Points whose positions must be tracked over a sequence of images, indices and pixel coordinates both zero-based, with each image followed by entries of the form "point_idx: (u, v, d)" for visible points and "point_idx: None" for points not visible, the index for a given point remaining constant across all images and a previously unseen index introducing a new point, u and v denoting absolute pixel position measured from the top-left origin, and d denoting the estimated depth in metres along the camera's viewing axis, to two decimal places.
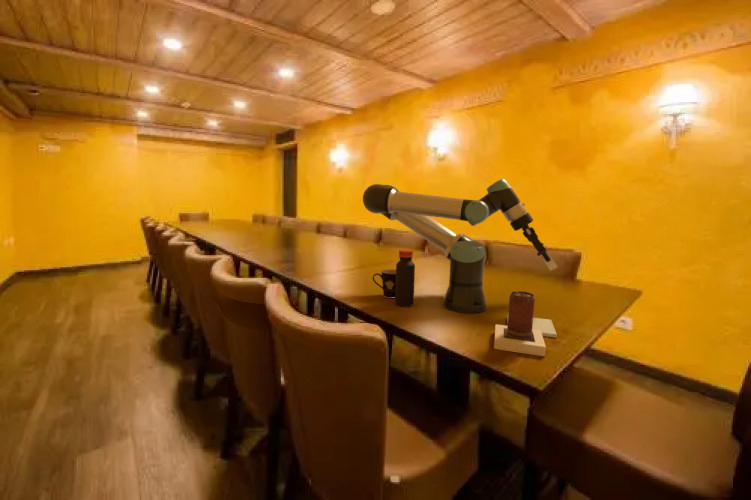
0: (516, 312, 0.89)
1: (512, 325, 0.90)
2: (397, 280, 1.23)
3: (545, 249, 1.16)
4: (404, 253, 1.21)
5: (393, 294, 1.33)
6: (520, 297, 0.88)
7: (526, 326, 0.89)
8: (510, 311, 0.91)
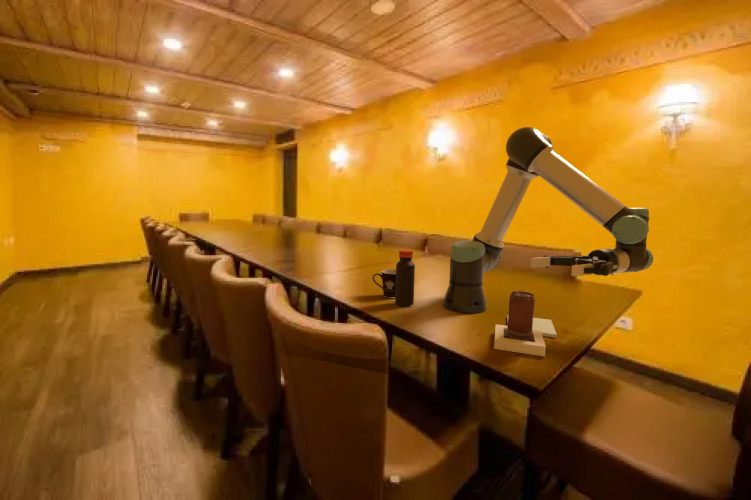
0: (516, 312, 0.89)
1: (512, 325, 0.90)
2: (397, 280, 1.23)
3: (606, 275, 0.87)
4: (404, 253, 1.21)
5: (393, 294, 1.33)
6: (520, 297, 0.88)
7: (526, 326, 0.89)
8: (510, 311, 0.91)
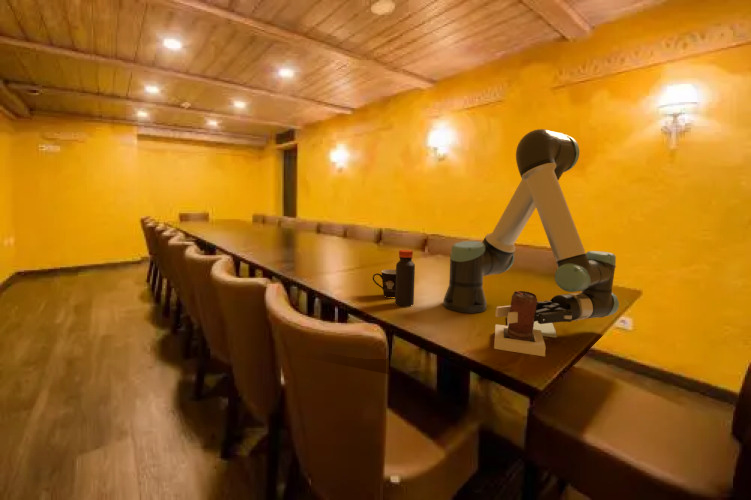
0: (518, 313, 0.88)
1: (513, 325, 0.90)
2: (397, 280, 1.23)
3: (540, 323, 0.88)
4: (404, 253, 1.21)
5: (393, 294, 1.33)
6: (522, 299, 0.87)
7: (527, 327, 0.88)
8: (512, 311, 0.90)
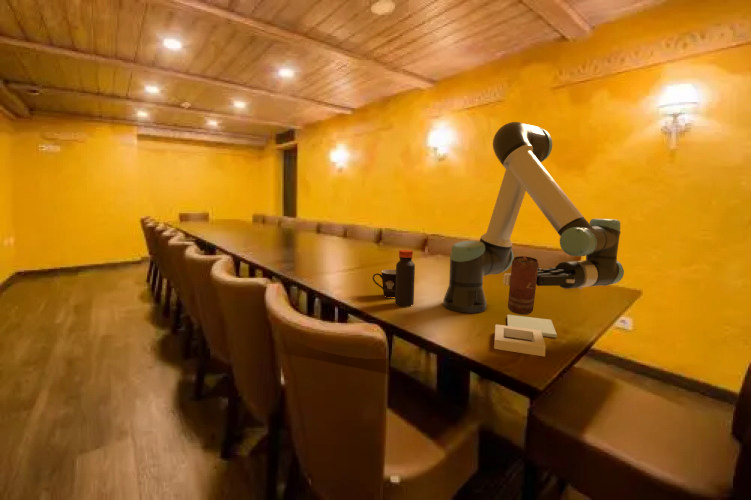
0: (512, 276, 0.87)
1: (509, 289, 0.89)
2: (397, 280, 1.23)
3: (538, 285, 0.88)
4: (404, 253, 1.21)
5: (393, 294, 1.33)
6: (516, 261, 0.85)
7: (519, 291, 0.85)
8: None
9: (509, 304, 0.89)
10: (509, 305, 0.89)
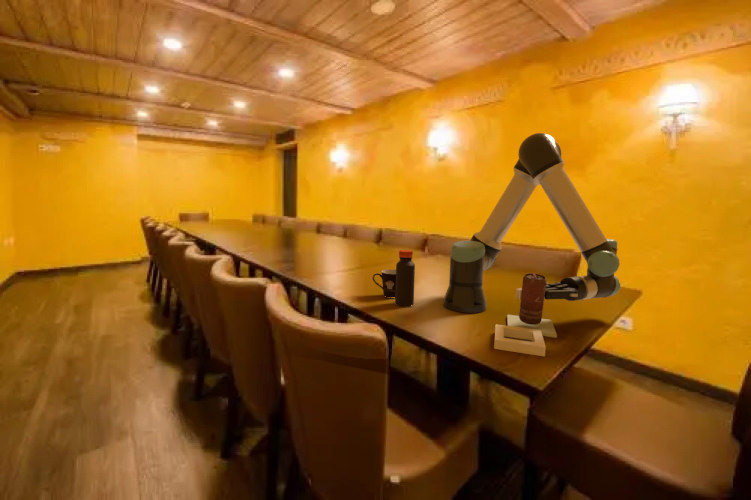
0: (523, 291, 1.00)
1: None
2: (397, 280, 1.23)
3: None
4: (404, 253, 1.21)
5: (393, 294, 1.33)
6: (526, 278, 0.98)
7: (529, 304, 0.99)
8: None
9: (520, 315, 1.02)
10: (520, 316, 1.02)
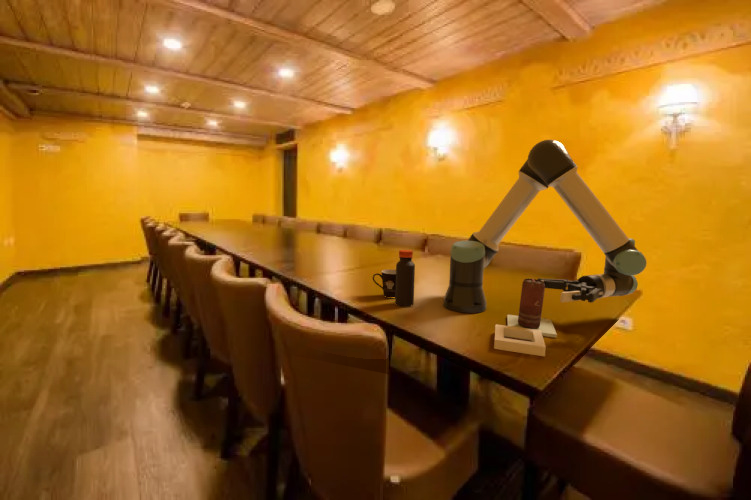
0: (522, 295, 1.02)
1: None
2: (397, 280, 1.23)
3: (591, 302, 0.98)
4: (404, 253, 1.21)
5: (393, 294, 1.33)
6: (526, 282, 1.00)
7: (528, 308, 1.00)
8: None
9: (519, 319, 1.03)
10: (519, 320, 1.03)
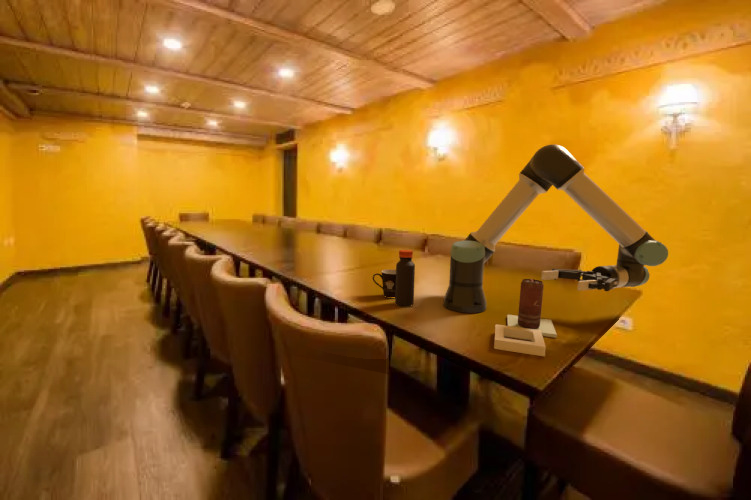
0: (521, 295, 1.02)
1: (519, 306, 1.03)
2: (397, 280, 1.23)
3: (608, 290, 1.00)
4: (404, 253, 1.21)
5: (393, 294, 1.33)
6: (524, 282, 1.01)
7: (527, 308, 1.00)
8: None
9: (519, 320, 1.03)
10: (519, 321, 1.03)
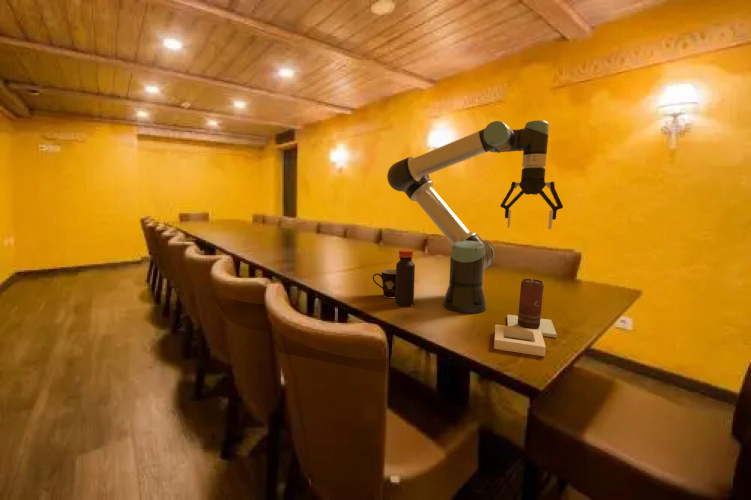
0: (521, 295, 1.02)
1: (519, 306, 1.03)
2: (397, 280, 1.23)
3: None
4: (404, 253, 1.21)
5: (393, 294, 1.33)
6: (524, 282, 1.01)
7: (527, 308, 1.00)
8: None
9: (519, 320, 1.03)
10: (519, 321, 1.03)
